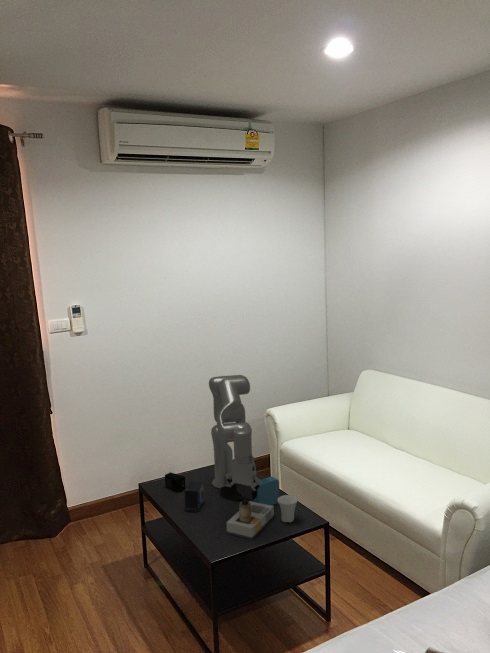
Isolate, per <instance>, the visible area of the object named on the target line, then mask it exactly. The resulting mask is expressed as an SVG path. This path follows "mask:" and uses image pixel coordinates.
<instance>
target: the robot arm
mask: <svg viewBox="0 0 490 653" xmlns="http://www.w3.org/2000/svg"><path fill="white" fill-rule="evenodd" d="M208 387H209V390H210V392H211V395H212V398H213V420H214V421H215V423H216V424H214V425H213V427H212V428H211V429H210V430H211V432H210V434H211V439H212V445H213V446H212V447H213V461H214V462H213V463H214V478H213V480H211V481H212V482H211V483H212V486H213V487H215V488H218V489H221V486H222V487H223V485H224V486H227V487H230V488H231V492H232V495H234V494H235V493H237V488H238V486H237V484H238V485H242V486H248V487H250V488H251V489H252V490H251V500H252V501H254V499H255V498H256V497H257V489H258V488H259V487H260V486H261V484H262V482H263V481H262V479H261V478H260V477H258V476H257V468H256V463H255V456H253V445H252V441H253V440H252V433H253V431H252V426H251V425H250V423H249V422H246V410H245V407H244V404H242V400H241V399H242V398H241V397H240V396H241V395H242V396H243V395H248V394H250V392H251V384H250V381H249V378H248V377H246V376H245V375H242V374H233V375H219V376H213V377H211V378H210V379H209V381H208ZM232 442H233V449H232V447H231V446H230V444H229V443H232ZM256 481H257V482H258V485H257V484H256V483H255V482H256Z"/></svg>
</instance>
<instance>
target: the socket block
mask: <svg viewBox="0 0 490 653" xmlns="http://www.w3.org/2000/svg"><path fill="white" fill-rule="evenodd" d="M252 501H253V500H252ZM252 501H249V502H250V503H251V522H250V523H249V524H245V523H241V522H240V517H239V511H238V510H237V512H236V513H235V514H234V515H233V516H232V517H231V518H230V519H229V520H227V521H226V534H227V535H231V536H236V537H239V538H243V539H244V538H245V539H248V540H253V539H255V537H256V536H257V535H258V534H259V533H260V532H261V531H262V530H263V529H264V528H265V527H266V526H267V524H268V523H269V522H270V521H272V519H273V518H274V516H275V511H274V510H275V509H274V505H266V504H261V503H257V502H252Z"/></svg>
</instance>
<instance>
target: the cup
mask: <svg viewBox="0 0 490 653" xmlns="http://www.w3.org/2000/svg"><path fill="white" fill-rule="evenodd" d="M277 501H278V503H277V504H278V505H279V507H280V511H281V521H282V522H283V523H286V522H289V523H292V522H293V521H295V510H296V506H297V505H298V504H297V503H298V501H299V500H298V497H297V496H295V495H292V494H284V495H281V496H280V495H279V498H278V500H277Z"/></svg>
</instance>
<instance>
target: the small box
mask: <svg viewBox="0 0 490 653" xmlns="http://www.w3.org/2000/svg"><path fill="white" fill-rule="evenodd" d="M185 487H186V489H185V490H184V511H185V512H190V513H191V512H192V513H198V512H199V510H200V509H201V507H202V506H203V504H204V501H205V500H204V482H203V481H195V480H191V481H190V482H189V484H187V486H185Z"/></svg>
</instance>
